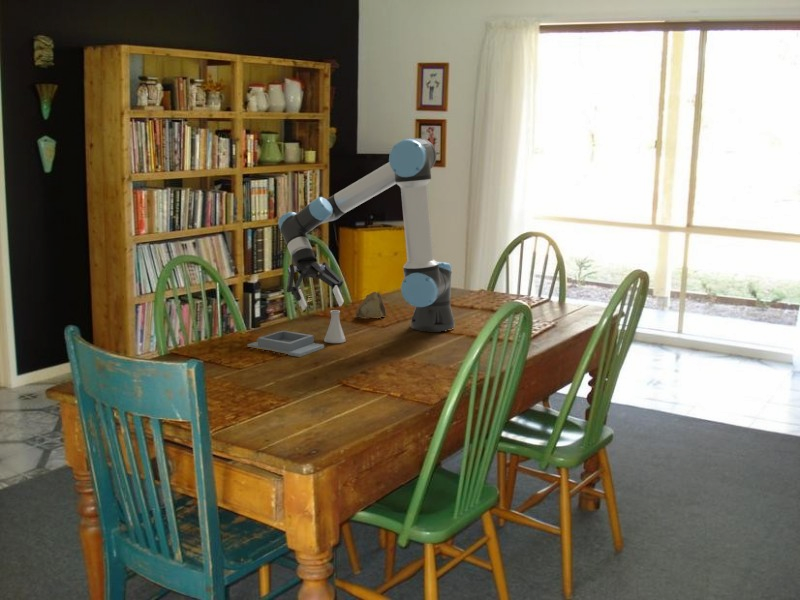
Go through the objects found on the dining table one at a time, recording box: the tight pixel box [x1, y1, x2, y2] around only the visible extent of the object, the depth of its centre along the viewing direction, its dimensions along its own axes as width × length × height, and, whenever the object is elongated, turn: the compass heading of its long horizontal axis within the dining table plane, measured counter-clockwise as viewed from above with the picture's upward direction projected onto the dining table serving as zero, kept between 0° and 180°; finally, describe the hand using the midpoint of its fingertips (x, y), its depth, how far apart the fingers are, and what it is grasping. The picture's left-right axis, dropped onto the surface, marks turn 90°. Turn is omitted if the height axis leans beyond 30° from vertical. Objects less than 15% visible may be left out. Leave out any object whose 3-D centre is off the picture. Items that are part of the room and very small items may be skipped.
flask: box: [323, 309, 347, 344], centre depth 295 cm, size 7×7×10 cm
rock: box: [355, 291, 387, 318], centre depth 331 cm, size 11×9×10 cm
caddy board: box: [246, 330, 325, 358], centre depth 286 cm, size 20×13×4 cm, turn 60°
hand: (323, 306), depth 298 cm, fingers open, 13 cm apart
